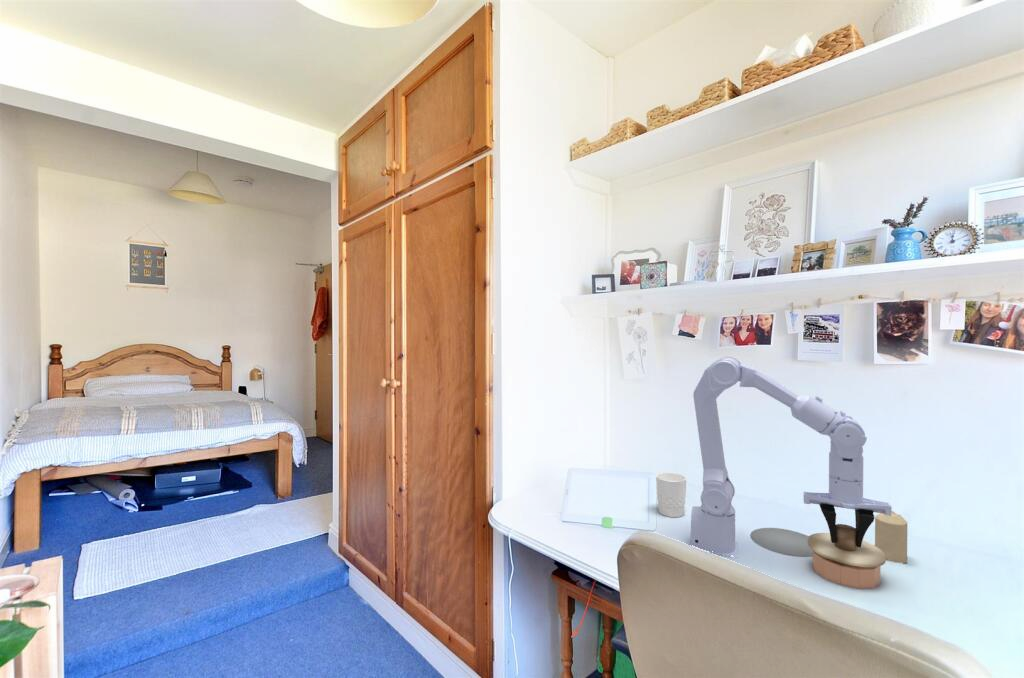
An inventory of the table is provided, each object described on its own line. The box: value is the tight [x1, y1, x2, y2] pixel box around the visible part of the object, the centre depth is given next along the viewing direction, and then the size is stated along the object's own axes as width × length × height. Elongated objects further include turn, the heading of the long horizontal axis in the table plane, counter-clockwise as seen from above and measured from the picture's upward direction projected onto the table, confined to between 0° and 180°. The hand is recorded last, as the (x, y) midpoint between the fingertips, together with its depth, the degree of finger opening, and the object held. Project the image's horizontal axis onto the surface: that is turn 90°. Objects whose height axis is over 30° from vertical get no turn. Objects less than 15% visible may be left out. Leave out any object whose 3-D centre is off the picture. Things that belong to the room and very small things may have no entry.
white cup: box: [655, 471, 687, 518], centre depth 129 cm, size 8×8×10 cm
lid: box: [808, 523, 887, 567], centre depth 96 cm, size 13×13×5 cm
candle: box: [874, 510, 908, 565], centre depth 103 cm, size 6×6×10 cm
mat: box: [749, 527, 813, 558], centre depth 110 cm, size 15×15×1 cm
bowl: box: [812, 551, 882, 589], centre depth 96 cm, size 11×11×4 cm
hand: (845, 543), depth 96 cm, fingers closed on lid, 3 cm apart
